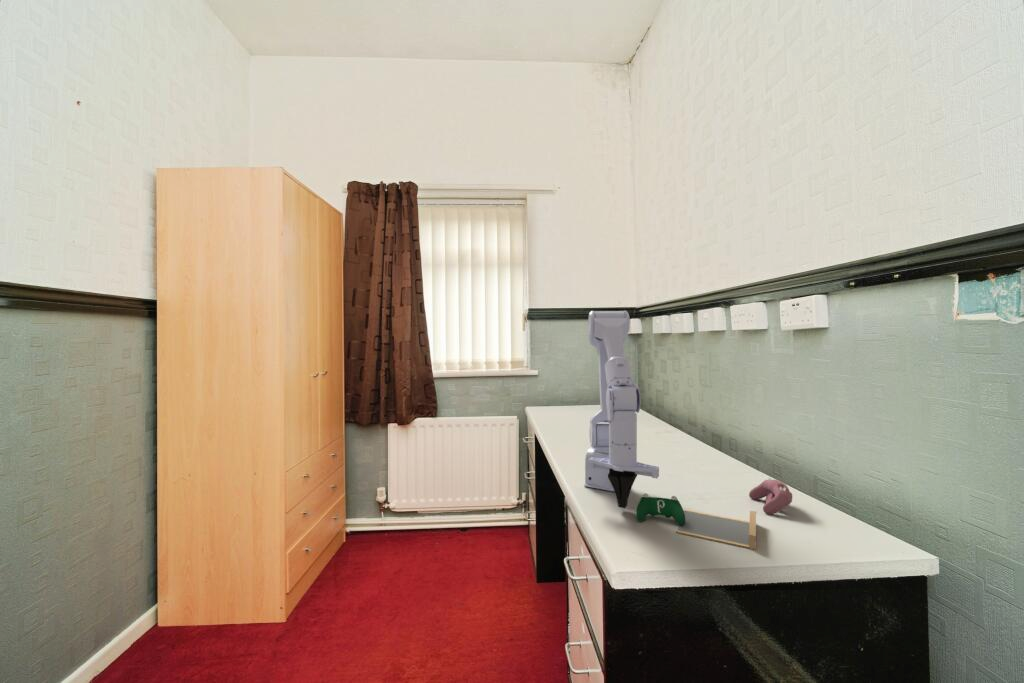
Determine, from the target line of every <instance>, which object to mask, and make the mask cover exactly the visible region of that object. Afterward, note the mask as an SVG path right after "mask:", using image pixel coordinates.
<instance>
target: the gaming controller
mask: <svg viewBox="0 0 1024 683" xmlns="http://www.w3.org/2000/svg"><path fill="white" fill-rule="evenodd" d="M684 512H685V510H684V509H683V506H682V504H681V502H680V500H678V497H677V495H671V498H665V497H656V496H654V497H653V496H649V494H648V493H645V492H644V493H643V494H642V496H641V497H640V499H639V502H638V503H637V506H636V511H635V517H636V520H637V521H639V522H643V521H645V520H646V518H647V517H648V515H649V516H651V517H665V518H668V519H670V518H673V519H674V522H675V523H676V524H677V525H678V526H679V525H681V526H683V525H685V514H684Z"/></svg>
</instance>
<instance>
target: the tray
mask: <svg viewBox="0 0 1024 683" xmlns="http://www.w3.org/2000/svg"><path fill="white" fill-rule="evenodd" d="M684 514H685V525H683V526H681V525H678V526H677V529H676V534H681V535H685V536H690V537H694V538H699V539H703V540H709V541H713V542H718V543H722V544H727V545H732V546H737V547H741V548H746V549H751V550H756V549H757V548H756V547H757V544H756V543H757V542H756V540H757V539H756V538H757V526H756V525H757V522H756V521H757V515H756V514H757V511H753V510H749V520H748V521H747V520H742V519H739V518H732V517H727V516H722V515H717V514H710V513H705V512H701V511H695V510H690V509H685V510H684Z"/></svg>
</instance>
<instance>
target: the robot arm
mask: <svg viewBox="0 0 1024 683" xmlns="http://www.w3.org/2000/svg"><path fill="white" fill-rule="evenodd" d="M630 319H631V318H630V314H629V312H628V311H627V310H618V311H616V310H613V311H612V310H609V311H608V310H606V311H603V310H599V311H598V310H595V311H594V310H591V311H590V312H589V313H588V321H587V322H588V324H587V325H588V328H587V329H588V341H589V344H590V345H591V346H592V347H595V348H596V352H597V358H598V378H599V379H598V380H599V382H598V383H599V401H600V402H599V404H600V405H599V407H600V410H598V411H597V412H596V413H595V414H594V415H592V416H591V417H590V420H589V431H588V432H589V445H590V447H589V448H588V449H587V451H586V453H585V459H584V460H585V463H584V464H585V465H584V470H585V471H584V473H585V476H584V481H585V482H584V485H583V486H584V487H587V488H593V489H599V490H603V491H609V492H613V493H615V497H616V502H617V506H618V508H622V509H625V508H627V506H628V502H629V496H630V493H631V491H632V488H633V485H634V483H635V481H636V479H637V477H638V475H639V476H645V477H651V478H652V479H658V478H659V477H660V466H655V465H651V464H648V463H643V462H640V461H637V460H638V459H637V458H638V451H637V450H638V447H637V446H638V440H637V439H638V437H637V436H638V434H637V433H638V428H637V427H638V423H637V422H638V419H637V418H638V414H637V413H640V409H641V391H640V388H639V386H638V384H637V382H636V381H634V378H633V371H632V367H631V366H632V365H631V362H630V360H629V359H628V358H625V353H624V345H625V343H626V341H627V338H628V334H629V331H630V327H631V326H630V325H631V324H630V323H631V320H630Z"/></svg>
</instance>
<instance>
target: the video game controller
mask: <svg viewBox="0 0 1024 683" xmlns="http://www.w3.org/2000/svg"><path fill="white" fill-rule="evenodd" d="M748 496H749V498H750V499H751V500H760V499H763V498H765V499H764V500H765V503H764V504H763V507H762V511H763V512H764V513H765V514H767V515H774V514H777V513H779V512H780V511H782V510H784V509H785V508H786V507H788V506H789V505H791V503H792V502H793V493H792V492H791V491H790V489H789V487H788V486H787V485H786V484H785V483H784V482H782V481H780V480H778V479H774V478H773V479H772V478H770V477H768V479H765V480H763V481H762V482H761V483H760V484H759V485H757V486H754V487H753V488H752V489H751V490H750V491H749V493H748Z"/></svg>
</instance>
